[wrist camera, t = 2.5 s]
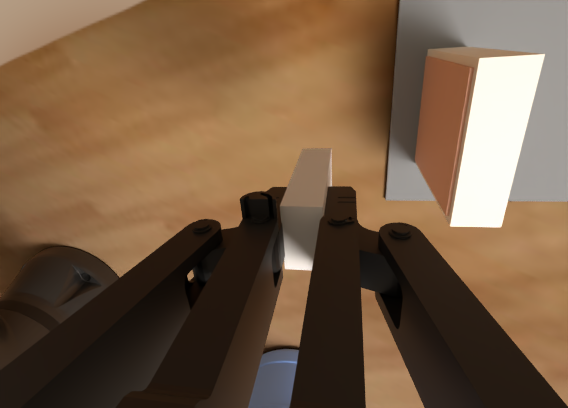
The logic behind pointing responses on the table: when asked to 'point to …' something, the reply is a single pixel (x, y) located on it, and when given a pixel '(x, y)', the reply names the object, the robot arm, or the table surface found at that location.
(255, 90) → the table surface
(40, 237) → the table surface
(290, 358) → the water jug
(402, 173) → the rubber mat
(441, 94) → the wooden plaque
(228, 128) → the table surface
